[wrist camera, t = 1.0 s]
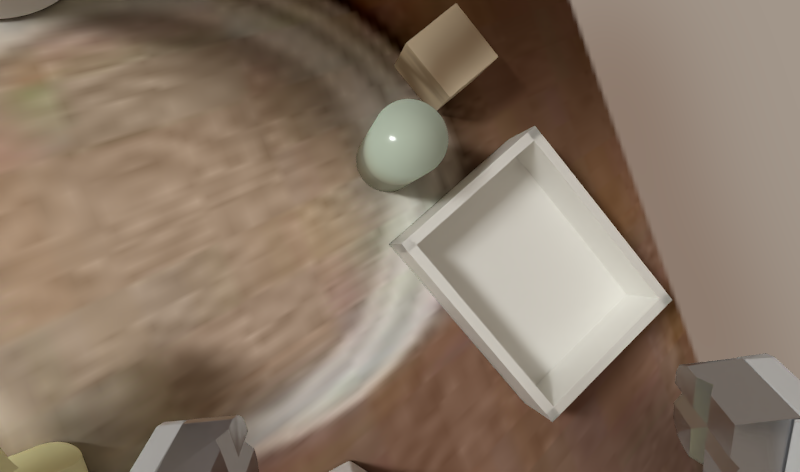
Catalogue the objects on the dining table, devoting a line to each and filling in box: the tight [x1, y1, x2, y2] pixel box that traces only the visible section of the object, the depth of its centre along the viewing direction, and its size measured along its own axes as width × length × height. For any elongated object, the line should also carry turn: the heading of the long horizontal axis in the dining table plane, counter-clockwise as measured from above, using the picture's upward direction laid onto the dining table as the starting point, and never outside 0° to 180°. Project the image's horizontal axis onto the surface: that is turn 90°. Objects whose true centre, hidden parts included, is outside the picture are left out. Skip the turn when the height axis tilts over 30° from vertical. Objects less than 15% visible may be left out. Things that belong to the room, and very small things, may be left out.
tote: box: [389, 126, 672, 422], centre depth 42 cm, size 18×14×5 cm
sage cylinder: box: [356, 99, 448, 192], centre depth 38 cm, size 5×5×9 cm
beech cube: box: [394, 3, 498, 111], centre depth 41 cm, size 5×5×5 cm
